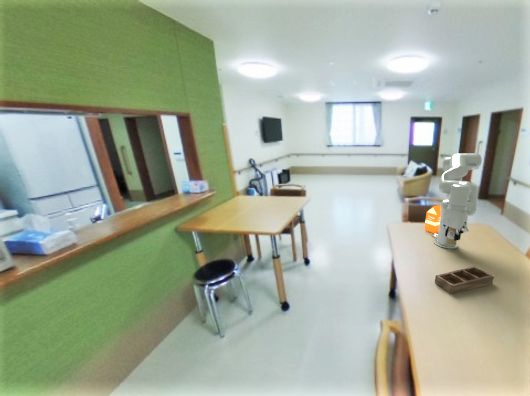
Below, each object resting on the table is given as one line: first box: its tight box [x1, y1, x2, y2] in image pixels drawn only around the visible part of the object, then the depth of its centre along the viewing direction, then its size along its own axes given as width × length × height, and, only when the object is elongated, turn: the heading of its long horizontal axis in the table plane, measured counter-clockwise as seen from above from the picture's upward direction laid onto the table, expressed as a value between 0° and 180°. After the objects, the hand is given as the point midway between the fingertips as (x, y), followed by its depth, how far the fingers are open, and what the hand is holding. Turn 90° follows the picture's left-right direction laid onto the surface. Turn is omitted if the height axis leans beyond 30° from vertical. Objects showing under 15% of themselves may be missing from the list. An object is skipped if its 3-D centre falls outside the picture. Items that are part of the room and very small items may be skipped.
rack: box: [434, 265, 495, 295], centre depth 117 cm, size 9×25×4 cm, turn 103°
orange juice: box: [424, 204, 441, 234], centre depth 173 cm, size 8×9×20 cm
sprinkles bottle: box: [446, 227, 458, 245], centre depth 126 cm, size 5×5×14 cm
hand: (452, 237), depth 127 cm, fingers closed on sprinkles bottle, 4 cm apart
